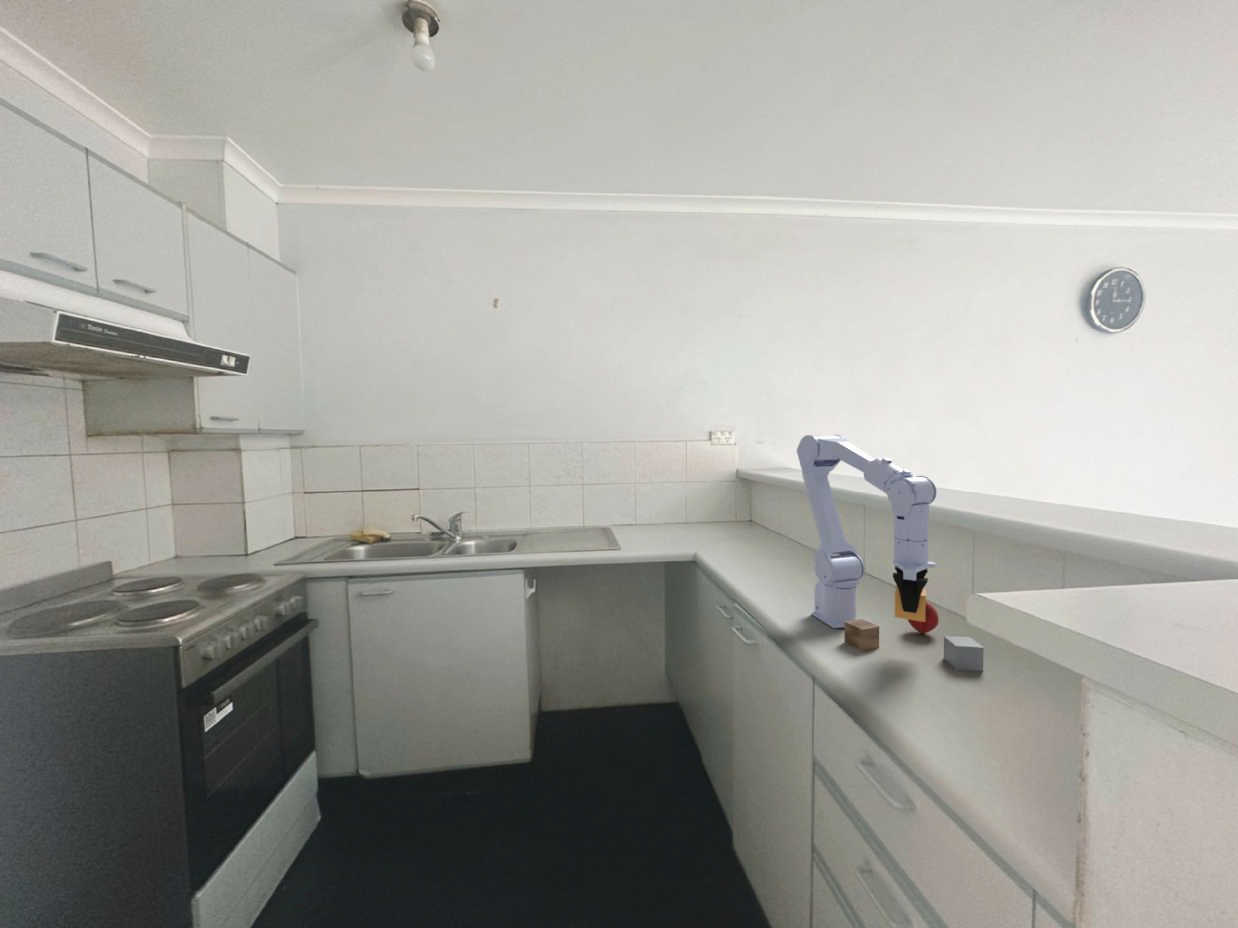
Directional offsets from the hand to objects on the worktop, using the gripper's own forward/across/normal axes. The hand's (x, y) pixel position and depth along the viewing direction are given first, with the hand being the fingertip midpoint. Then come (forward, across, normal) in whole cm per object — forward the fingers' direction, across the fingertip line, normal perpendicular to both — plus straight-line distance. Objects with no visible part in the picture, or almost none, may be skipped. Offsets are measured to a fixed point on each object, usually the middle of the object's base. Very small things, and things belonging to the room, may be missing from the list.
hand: (910, 607), depth 93 cm
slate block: (+10, 0, -8) cm, 13 cm away
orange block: (+2, 0, 0) cm, 2 cm away
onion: (+10, +13, -2) cm, 16 cm away
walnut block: (+10, 0, +8) cm, 13 cm away
